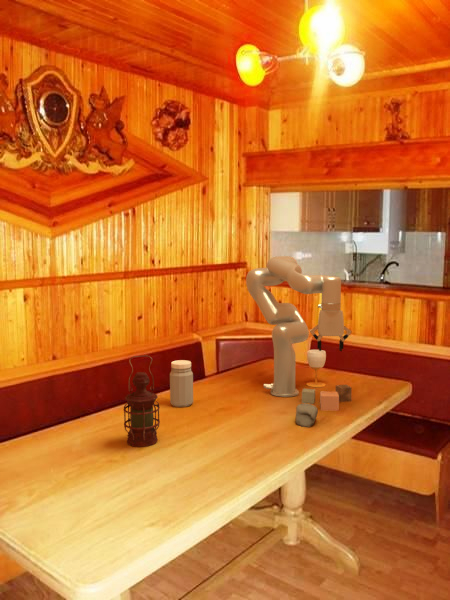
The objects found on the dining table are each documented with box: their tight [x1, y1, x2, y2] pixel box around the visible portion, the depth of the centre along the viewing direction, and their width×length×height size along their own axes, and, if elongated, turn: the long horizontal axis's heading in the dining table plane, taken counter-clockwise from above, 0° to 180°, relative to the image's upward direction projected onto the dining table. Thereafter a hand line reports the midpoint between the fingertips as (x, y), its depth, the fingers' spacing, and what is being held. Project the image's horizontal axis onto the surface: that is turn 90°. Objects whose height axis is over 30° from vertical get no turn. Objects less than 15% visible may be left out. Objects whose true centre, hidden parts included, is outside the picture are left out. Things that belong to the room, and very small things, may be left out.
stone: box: [295, 403, 318, 428], centre depth 212 cm, size 9×9×10 cm
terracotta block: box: [319, 390, 340, 412], centre depth 230 cm, size 7×7×6 cm
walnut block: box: [335, 384, 352, 403], centre depth 241 cm, size 5×5×6 cm
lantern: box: [123, 354, 161, 448], centre depth 191 cm, size 12×12×30 cm
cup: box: [306, 349, 327, 388], centre depth 265 cm, size 9×9×16 cm
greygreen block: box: [301, 388, 316, 405], centre depth 238 cm, size 5×5×5 cm
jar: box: [169, 359, 194, 408], centre depth 235 cm, size 10×10×18 cm
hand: (330, 350), depth 227 cm, fingers open, 7 cm apart
